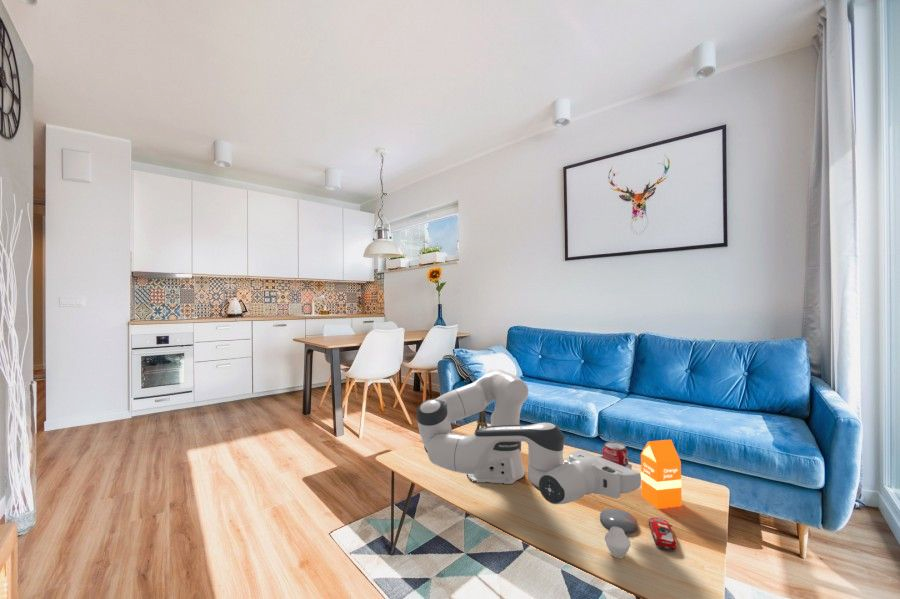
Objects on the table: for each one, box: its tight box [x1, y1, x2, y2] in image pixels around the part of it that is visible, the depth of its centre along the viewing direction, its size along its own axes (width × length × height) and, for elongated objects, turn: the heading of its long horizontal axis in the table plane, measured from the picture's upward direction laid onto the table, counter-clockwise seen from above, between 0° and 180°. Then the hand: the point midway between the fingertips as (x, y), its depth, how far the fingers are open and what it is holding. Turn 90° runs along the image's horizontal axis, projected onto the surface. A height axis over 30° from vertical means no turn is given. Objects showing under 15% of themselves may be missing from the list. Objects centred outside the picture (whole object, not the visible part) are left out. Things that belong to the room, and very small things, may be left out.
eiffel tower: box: [473, 408, 489, 434], centre depth 176 cm, size 11×11×25 cm
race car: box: [648, 517, 678, 552], centre depth 103 cm, size 13×5×4 cm, turn 159°
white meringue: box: [604, 526, 631, 558], centre depth 97 cm, size 6×6×7 cm
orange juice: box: [640, 439, 683, 510], centre depth 122 cm, size 8×9×20 cm
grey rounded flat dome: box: [599, 508, 638, 535], centre depth 110 cm, size 10×10×2 cm
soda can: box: [602, 441, 629, 466], centre depth 110 cm, size 7×7×12 cm
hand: (618, 462), depth 111 cm, fingers closed on soda can, 5 cm apart
